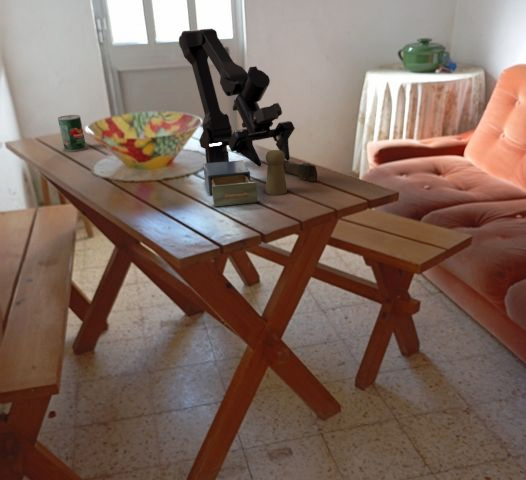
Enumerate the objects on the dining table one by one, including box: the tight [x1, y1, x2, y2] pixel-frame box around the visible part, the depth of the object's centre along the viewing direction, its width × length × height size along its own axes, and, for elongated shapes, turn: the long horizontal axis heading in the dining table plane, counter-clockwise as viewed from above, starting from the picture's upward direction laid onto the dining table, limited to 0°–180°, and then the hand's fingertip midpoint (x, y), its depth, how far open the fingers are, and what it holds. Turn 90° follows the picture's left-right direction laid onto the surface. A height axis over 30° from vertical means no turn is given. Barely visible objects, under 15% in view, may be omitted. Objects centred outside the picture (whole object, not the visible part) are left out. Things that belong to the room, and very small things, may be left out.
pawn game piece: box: [265, 149, 288, 196], centre depth 152 cm, size 6×6×11 cm
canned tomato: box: [57, 114, 87, 152], centre depth 203 cm, size 8×8×11 cm
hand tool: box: [283, 159, 318, 182], centre depth 165 cm, size 19×4×5 cm, turn 36°
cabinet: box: [202, 159, 251, 197], centre depth 159 cm, size 13×12×6 cm
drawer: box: [211, 174, 258, 207], centre depth 149 cm, size 16×12×5 cm
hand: (274, 162), depth 151 cm, fingers open, 9 cm apart
